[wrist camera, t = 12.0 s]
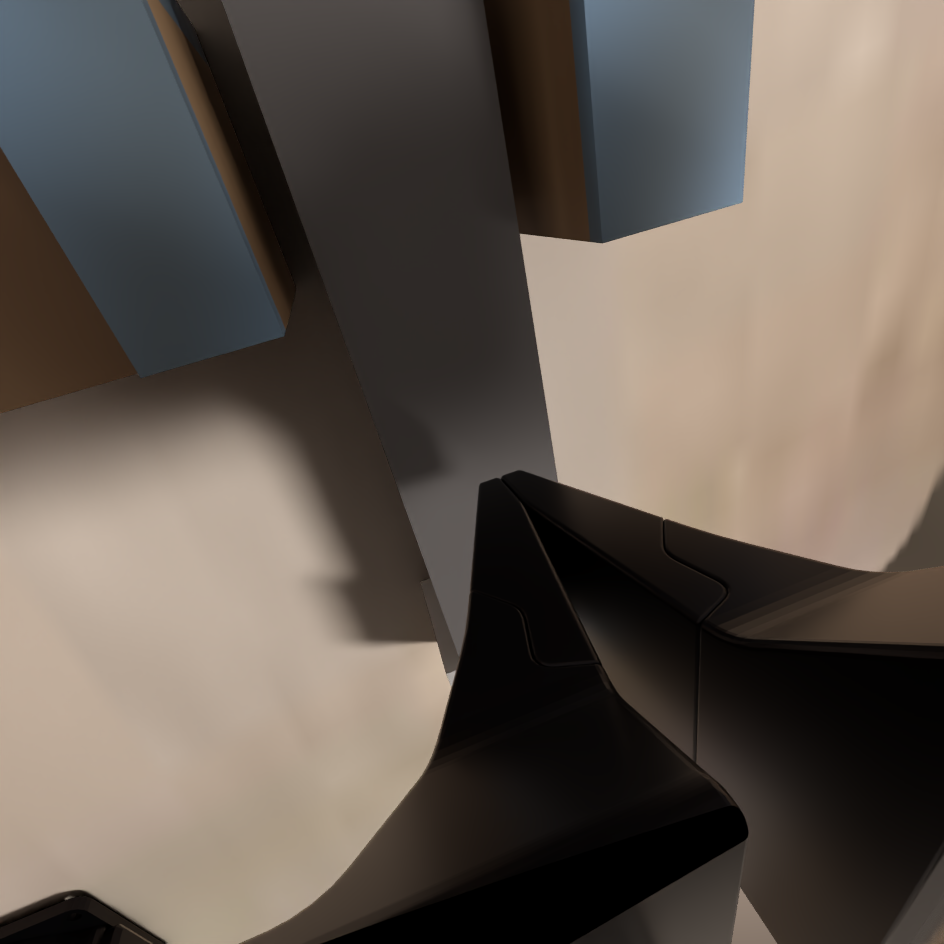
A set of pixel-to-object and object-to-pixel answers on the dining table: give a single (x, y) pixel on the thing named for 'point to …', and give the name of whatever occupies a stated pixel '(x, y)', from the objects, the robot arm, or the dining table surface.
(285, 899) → the dining table surface
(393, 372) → the long grey plank
